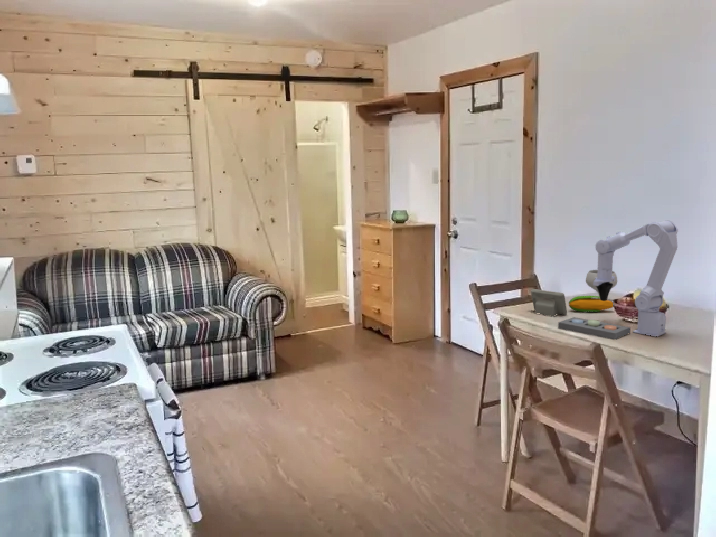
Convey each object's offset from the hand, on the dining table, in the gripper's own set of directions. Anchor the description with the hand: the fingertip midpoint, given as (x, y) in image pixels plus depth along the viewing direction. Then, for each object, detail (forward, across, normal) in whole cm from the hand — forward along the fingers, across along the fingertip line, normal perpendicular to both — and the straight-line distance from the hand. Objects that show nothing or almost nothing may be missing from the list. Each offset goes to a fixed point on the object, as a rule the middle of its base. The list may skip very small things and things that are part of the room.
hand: (603, 300), depth 259 cm
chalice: (+10, -34, -19) cm, 40 cm away
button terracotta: (+9, +15, +11) cm, 21 cm away
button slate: (+9, +15, -3) cm, 18 cm away
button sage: (+8, +15, +4) cm, 17 cm away
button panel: (+9, +15, +4) cm, 18 cm away
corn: (+10, -15, -13) cm, 22 cm away
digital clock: (+10, +2, -25) cm, 27 cm away
